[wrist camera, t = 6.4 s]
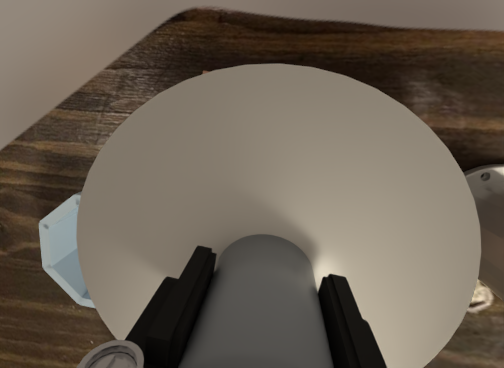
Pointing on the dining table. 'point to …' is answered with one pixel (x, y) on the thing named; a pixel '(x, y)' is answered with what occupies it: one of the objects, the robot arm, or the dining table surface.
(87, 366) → the robot arm
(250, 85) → the lid
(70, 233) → the bowl
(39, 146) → the dining table surface
